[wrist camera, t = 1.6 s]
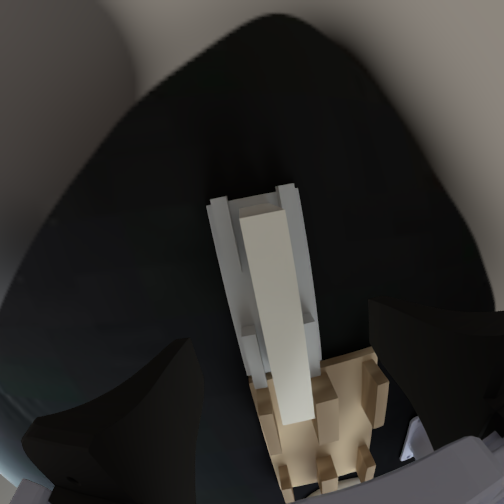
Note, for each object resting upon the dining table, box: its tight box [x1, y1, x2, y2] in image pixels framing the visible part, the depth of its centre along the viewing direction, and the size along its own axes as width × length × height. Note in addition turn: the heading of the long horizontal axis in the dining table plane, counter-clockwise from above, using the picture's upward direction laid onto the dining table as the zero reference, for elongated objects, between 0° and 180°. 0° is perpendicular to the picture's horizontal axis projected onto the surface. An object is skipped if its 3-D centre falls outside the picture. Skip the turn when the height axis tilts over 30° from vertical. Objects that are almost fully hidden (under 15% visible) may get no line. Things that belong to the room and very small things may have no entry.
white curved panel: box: [239, 203, 315, 425], centre depth 13 cm, size 2×10×6 cm, turn 11°
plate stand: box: [206, 183, 322, 389], centre depth 16 cm, size 5×12×2 cm, turn 11°
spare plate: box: [307, 477, 361, 498], centre depth 23 cm, size 9×9×1 cm
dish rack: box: [248, 346, 389, 504], centre depth 18 cm, size 9×16×4 cm, turn 11°
